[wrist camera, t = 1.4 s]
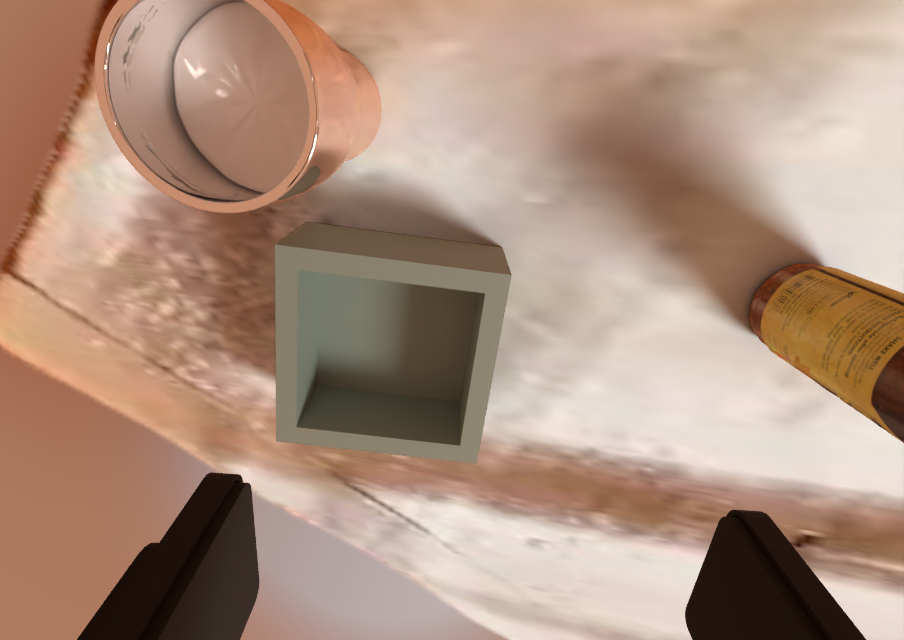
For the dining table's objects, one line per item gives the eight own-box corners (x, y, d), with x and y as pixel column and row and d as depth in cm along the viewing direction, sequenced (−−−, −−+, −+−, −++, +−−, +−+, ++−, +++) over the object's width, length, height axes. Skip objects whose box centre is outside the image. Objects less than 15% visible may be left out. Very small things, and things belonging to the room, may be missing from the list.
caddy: (306, 221, 31) (274, 244, 26) (502, 247, 31) (511, 274, 26) (303, 391, 36) (276, 441, 30) (473, 411, 36) (476, 463, 31)
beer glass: (351, 12, 27) (237, -95, 13) (410, 137, 29) (369, 161, 15) (243, 74, 28) (32, 37, 14) (309, 189, 30) (184, 255, 16)
